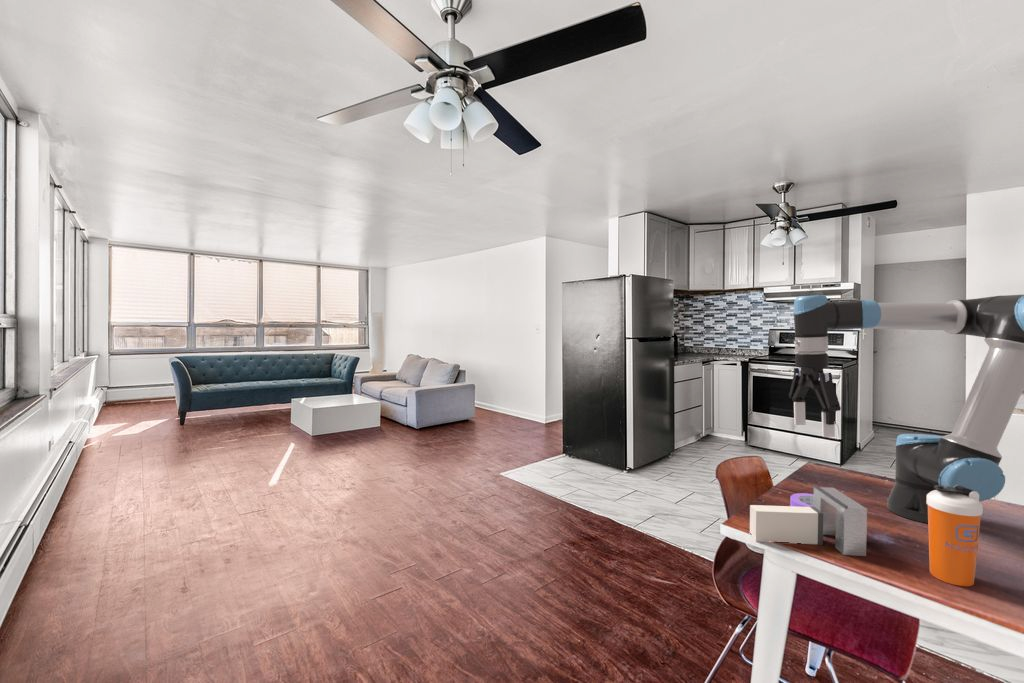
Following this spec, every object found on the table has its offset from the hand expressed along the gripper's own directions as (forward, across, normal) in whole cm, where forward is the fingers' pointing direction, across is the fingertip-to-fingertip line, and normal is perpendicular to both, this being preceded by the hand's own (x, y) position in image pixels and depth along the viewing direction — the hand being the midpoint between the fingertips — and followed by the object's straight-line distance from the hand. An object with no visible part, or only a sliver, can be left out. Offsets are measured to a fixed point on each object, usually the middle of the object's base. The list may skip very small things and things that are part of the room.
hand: (813, 430), depth 126 cm
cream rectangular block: (+26, +8, -12) cm, 30 cm away
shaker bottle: (+28, +24, +15) cm, 40 cm away
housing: (+27, +9, 0) cm, 28 cm away
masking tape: (+27, -9, +4) cm, 29 cm away
